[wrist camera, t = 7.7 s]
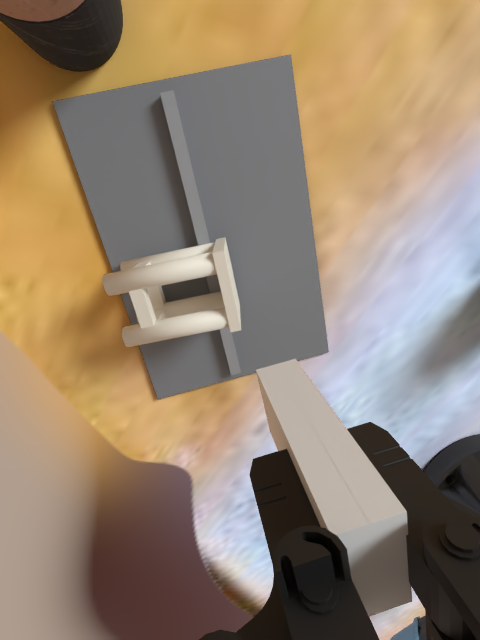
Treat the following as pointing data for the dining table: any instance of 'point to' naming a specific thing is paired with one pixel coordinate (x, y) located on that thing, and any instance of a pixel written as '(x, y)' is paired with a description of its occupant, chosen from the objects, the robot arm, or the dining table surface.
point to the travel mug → (67, 29)
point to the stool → (178, 315)
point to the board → (208, 207)
